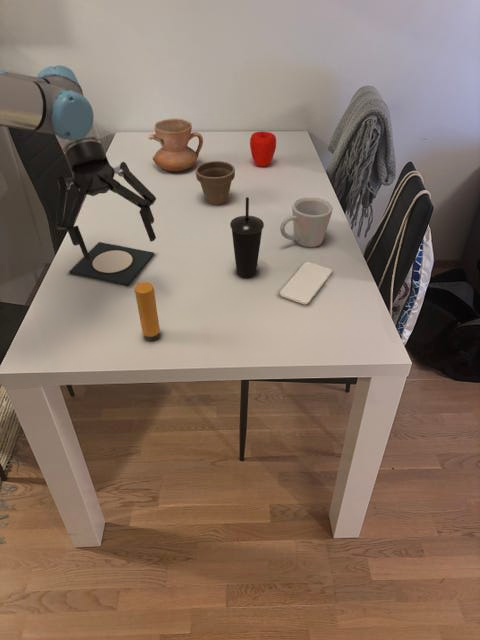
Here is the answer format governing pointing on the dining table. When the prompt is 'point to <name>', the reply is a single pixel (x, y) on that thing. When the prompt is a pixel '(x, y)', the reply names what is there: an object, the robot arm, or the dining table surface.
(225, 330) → the dining table surface
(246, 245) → the drinking cup
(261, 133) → the red rounded lobed shape
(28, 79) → the robot arm
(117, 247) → the black coaster mat
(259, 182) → the dining table surface
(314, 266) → the smartphone
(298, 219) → the mug
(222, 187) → the flower pot
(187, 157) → the ceramic jug
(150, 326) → the marker
